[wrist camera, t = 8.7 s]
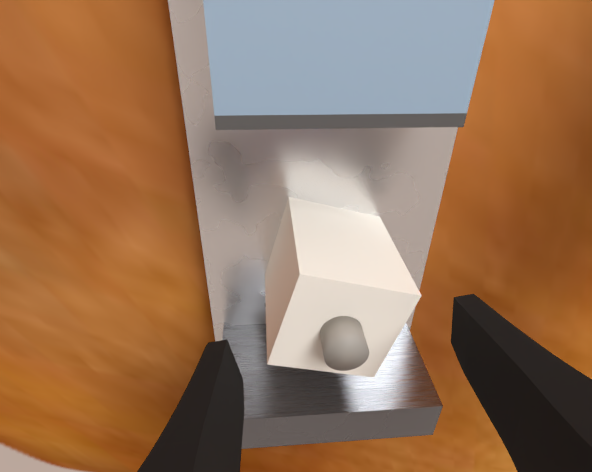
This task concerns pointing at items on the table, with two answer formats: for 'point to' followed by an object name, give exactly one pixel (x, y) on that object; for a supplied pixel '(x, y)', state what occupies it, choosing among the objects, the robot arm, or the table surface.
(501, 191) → the table surface
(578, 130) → the table surface
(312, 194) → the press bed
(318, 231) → the block
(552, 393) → the robot arm
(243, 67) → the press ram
